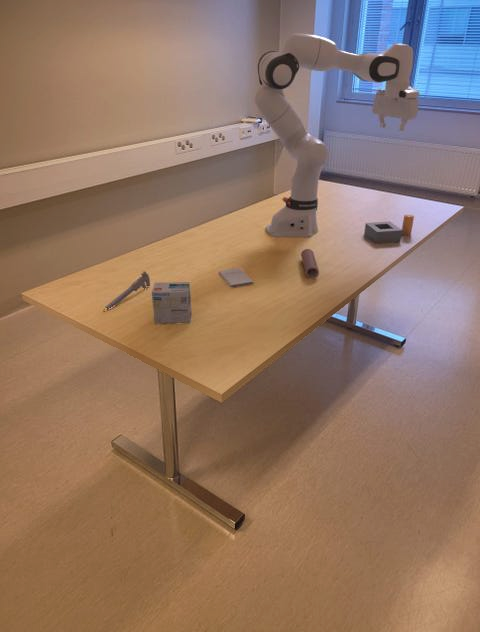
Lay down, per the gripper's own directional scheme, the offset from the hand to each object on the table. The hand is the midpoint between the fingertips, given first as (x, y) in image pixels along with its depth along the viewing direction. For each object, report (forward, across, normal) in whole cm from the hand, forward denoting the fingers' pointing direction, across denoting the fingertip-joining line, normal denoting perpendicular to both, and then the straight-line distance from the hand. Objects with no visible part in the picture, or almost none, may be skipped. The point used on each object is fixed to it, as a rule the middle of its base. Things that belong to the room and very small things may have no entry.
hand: (391, 129), depth 201 cm
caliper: (+40, +6, -119) cm, 126 cm away
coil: (+41, +18, -54) cm, 70 cm away
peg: (+41, +12, +4) cm, 43 cm away
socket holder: (+41, +10, -8) cm, 43 cm away
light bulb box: (+40, +25, -112) cm, 122 cm away
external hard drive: (+41, +11, -81) cm, 92 cm away
